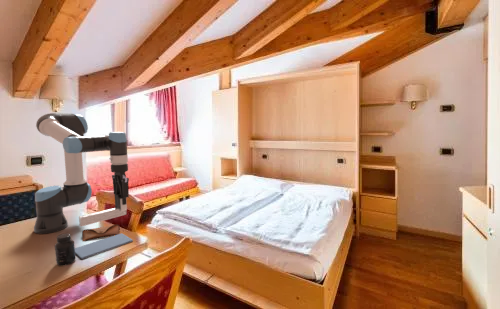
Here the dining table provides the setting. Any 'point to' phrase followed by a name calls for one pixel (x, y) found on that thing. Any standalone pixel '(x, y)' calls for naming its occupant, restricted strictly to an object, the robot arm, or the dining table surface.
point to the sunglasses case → (100, 232)
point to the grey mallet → (103, 214)
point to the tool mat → (102, 245)
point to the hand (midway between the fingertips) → (121, 209)
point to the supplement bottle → (64, 250)
